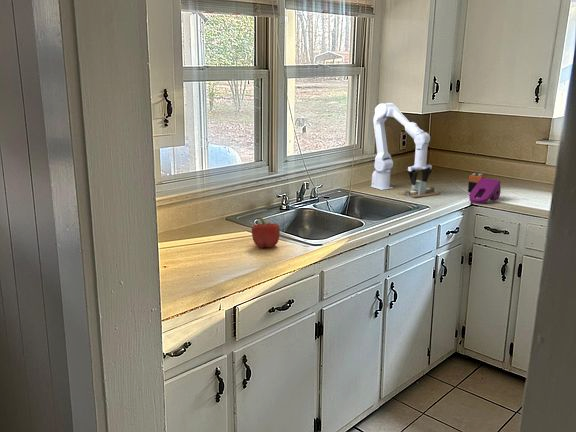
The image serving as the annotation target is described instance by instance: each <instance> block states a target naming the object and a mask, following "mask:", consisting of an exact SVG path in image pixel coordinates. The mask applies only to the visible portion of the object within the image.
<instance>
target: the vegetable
mask: <svg viewBox="0 0 576 432" xmlns="http://www.w3.org/2000/svg"><path fill="white" fill-rule="evenodd" d="M256 220H259V221H261V223H258V224H256V225H254V226H252V228H251V236H252V240H253V243H254V245H256V246H257V247H259V248H260V249H264V248H271V247H275V246H276V245H277V244H278V242H279V240H280V239H279V238H280V226H279V224H278V223H271V222H267V223H266V221H265V220H264V218H262V217H261V216H259V217H256Z"/></svg>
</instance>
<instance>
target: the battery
mask: <svg viewBox="0 0 576 432" xmlns="http://www.w3.org/2000/svg"><path fill="white" fill-rule="evenodd" d="M481 178H486V176H485V175H484V174H483V173H478V174H477V173H476V172H475V173H474V172H473V173H472V174H469V177H468V187H467V192H468V193H470V192H471V191H472V190H473V188H474V187H475V186H476V184H477V183H478V182H479V180H480V179H481Z"/></svg>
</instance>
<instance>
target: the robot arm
mask: <svg viewBox="0 0 576 432" xmlns="http://www.w3.org/2000/svg"><path fill="white" fill-rule="evenodd" d="M389 117H390V118H394V119H395V120H396V121H397V122H399V124H401V125H402V126H403V127H404V131H405V132H406V133H407V134H408V135H409V136H410V137H411V138H412V140H413V142H414V145H415V152H414V164H413V165H412V166H408V167H407V173H408V176H409V180H410V184H411V186H412V185H415V184H416V180H417V179H418V175H419V171H421V179H422V180H421V181H423V182H426V183H427V181H428V179H429V177H430V175H431V173H432V171H433V169H432V167H433V165H431V164H427V160H428V159H427V157H428V145H429V143H430V142H431V136H430V134H429V133H428V132H426V131H424V130H423V129H421V128H420V127H419V126H418V123H417V122H414V121H411V122H410V120H408V118H407V117H406V116H405V115H404V114H403V113H402V112H401V110H400V109H399V108H398V106H397V105H395V103H392V102H387V103H379V104H378V105H376V107H375V108H374V115H373V120H372V122H373V130H374V131H373V132H374V136H375V137H374V138H375V146H376V147H375V148H376V156H375V157H374V165H373V166H374V171H373V172H372V175H371V185H370V187H371V188H373V189H377V190H379V191H380V190H381V191H384V190H390V189H391V190H392V189H394V187H392V186H391V185H390V184H391V170H392V168H394V161H393V159H392V155H391V154H390V153H389V152H388V143H387V135H386V126H385V122H386V121H387V119H388V118H389Z"/></svg>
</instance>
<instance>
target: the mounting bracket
mask: <svg viewBox="0 0 576 432" xmlns="http://www.w3.org/2000/svg"><path fill="white" fill-rule="evenodd" d="M501 191H502V189H501V180H499V179H491V178H486V177H485V178H481V179H480V180H479V182H478V183H477V184H476V186H475V187H474V188H473V190H472V191H471V192H469V194H468V196H469V197H468V198H469V202H471V203H472V204H477V205H478V204H479V205H481V204H485V203H488V202H489V200H490V201H491V200H492V201H498V200H499V198H500V196H501Z"/></svg>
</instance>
